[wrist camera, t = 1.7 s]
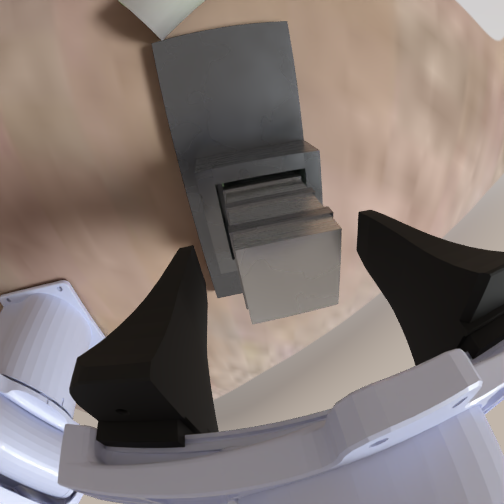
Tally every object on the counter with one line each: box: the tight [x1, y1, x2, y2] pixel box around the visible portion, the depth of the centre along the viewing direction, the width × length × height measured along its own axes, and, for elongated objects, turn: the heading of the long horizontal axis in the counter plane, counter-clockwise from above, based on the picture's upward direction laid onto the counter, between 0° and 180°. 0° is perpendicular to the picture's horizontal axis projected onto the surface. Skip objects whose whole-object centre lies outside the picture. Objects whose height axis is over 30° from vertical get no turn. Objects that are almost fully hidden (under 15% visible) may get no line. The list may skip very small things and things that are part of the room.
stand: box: [152, 21, 323, 298], centre depth 15 cm, size 7×17×4 cm, turn 9°
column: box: [222, 170, 342, 324], centre depth 13 cm, size 4×4×8 cm
